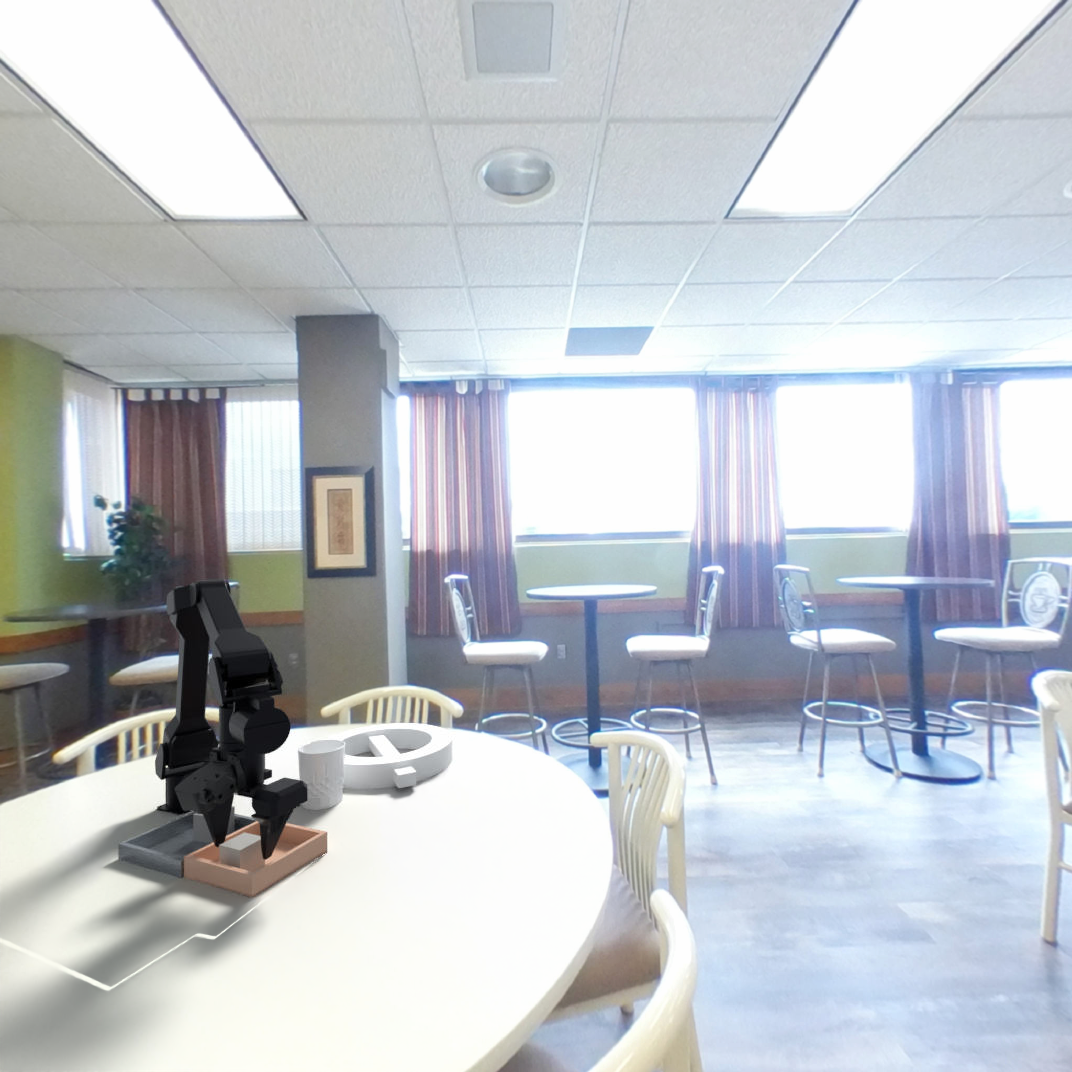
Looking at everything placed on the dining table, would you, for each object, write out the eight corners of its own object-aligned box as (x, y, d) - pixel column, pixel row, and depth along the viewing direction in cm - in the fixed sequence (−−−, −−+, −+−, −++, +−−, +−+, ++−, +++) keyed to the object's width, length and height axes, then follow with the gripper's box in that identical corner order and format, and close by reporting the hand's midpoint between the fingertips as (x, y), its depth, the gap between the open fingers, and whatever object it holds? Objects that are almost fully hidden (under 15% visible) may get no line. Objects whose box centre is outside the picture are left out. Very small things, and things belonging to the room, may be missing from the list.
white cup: (330, 814, 101) (330, 754, 101) (289, 811, 102) (288, 752, 103) (354, 795, 109) (353, 740, 109) (314, 793, 110) (314, 738, 110)
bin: (118, 861, 86) (118, 843, 86) (204, 822, 99) (204, 806, 99) (180, 880, 81) (180, 861, 81) (264, 836, 93) (263, 820, 93)
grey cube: (193, 841, 92) (193, 814, 92) (214, 829, 95) (214, 803, 95) (214, 843, 90) (214, 817, 91) (234, 832, 94) (234, 806, 94)
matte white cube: (219, 875, 81) (219, 845, 81) (244, 861, 85) (244, 832, 85) (240, 881, 79) (240, 850, 79) (265, 866, 83) (264, 837, 83)
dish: (183, 879, 81) (183, 856, 81) (263, 837, 93) (263, 817, 93) (252, 899, 76) (252, 875, 76) (327, 852, 87) (327, 831, 88)
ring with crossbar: (366, 739, 144) (366, 719, 144) (473, 748, 135) (473, 727, 135) (283, 782, 117) (283, 757, 117) (410, 797, 108) (409, 770, 108)
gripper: (140, 747, 79) (139, 867, 79) (239, 764, 71) (240, 897, 71) (215, 724, 89) (216, 831, 89) (310, 737, 82) (311, 854, 81)
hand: (242, 851), depth 82 cm, fingers open, 9 cm apart
